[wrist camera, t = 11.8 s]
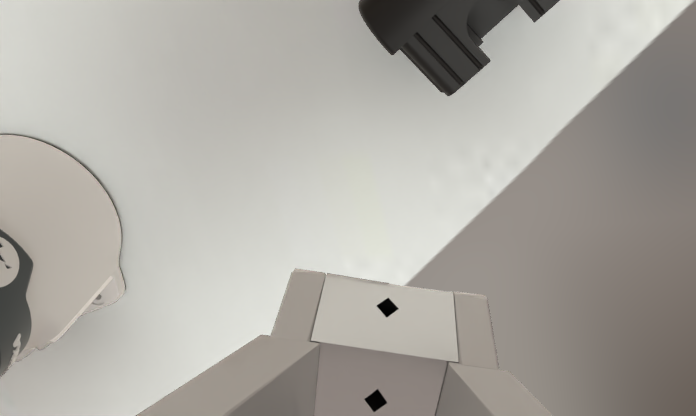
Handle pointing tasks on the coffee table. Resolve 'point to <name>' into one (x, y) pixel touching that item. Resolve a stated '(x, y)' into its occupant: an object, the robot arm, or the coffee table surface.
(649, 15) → the coffee table surface
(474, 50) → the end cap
